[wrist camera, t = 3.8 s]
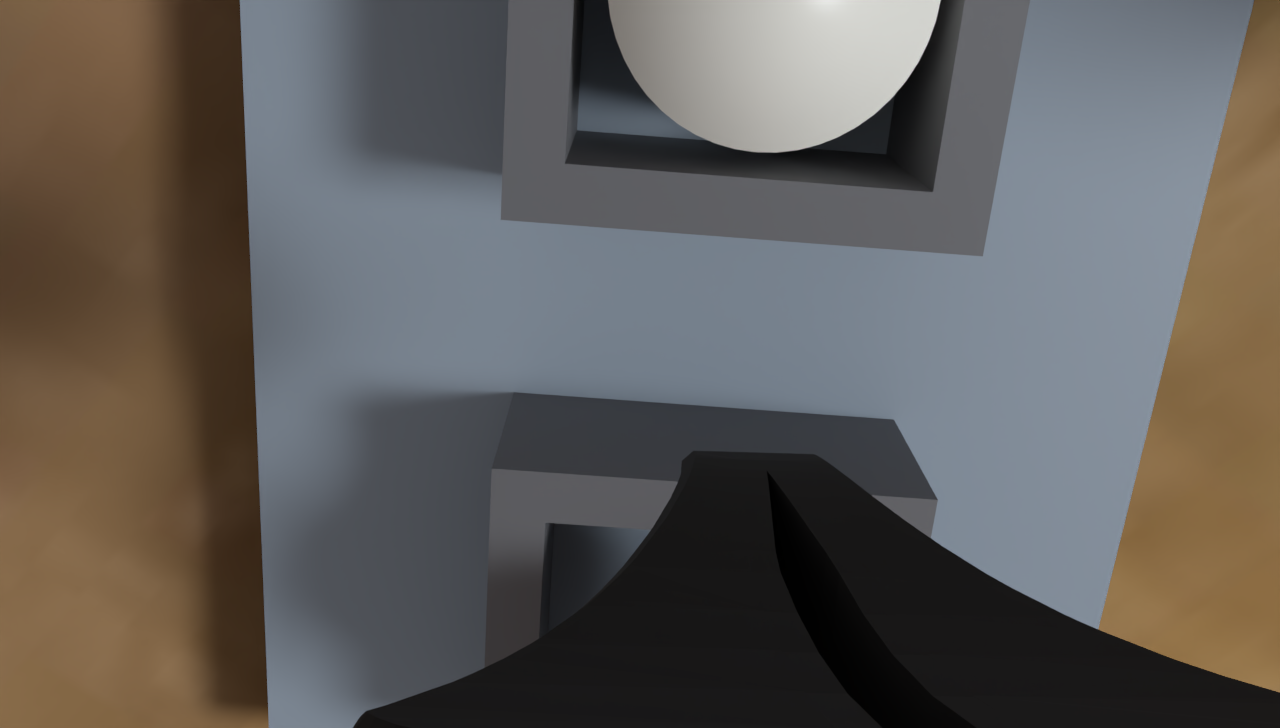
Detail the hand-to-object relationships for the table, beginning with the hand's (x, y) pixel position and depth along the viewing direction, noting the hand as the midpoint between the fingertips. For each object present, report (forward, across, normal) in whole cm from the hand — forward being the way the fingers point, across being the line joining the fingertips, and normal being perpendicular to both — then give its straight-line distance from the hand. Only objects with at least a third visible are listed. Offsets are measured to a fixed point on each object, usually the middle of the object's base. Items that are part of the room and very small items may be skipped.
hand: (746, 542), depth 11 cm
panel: (+10, 0, 0) cm, 10 cm away
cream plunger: (+7, 0, -5) cm, 9 cm away
